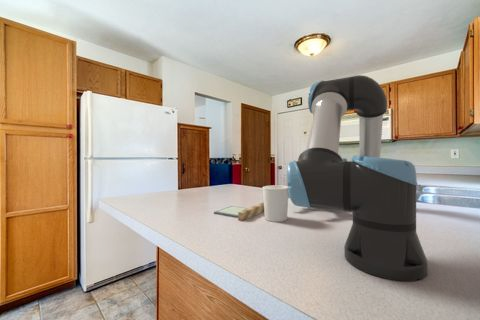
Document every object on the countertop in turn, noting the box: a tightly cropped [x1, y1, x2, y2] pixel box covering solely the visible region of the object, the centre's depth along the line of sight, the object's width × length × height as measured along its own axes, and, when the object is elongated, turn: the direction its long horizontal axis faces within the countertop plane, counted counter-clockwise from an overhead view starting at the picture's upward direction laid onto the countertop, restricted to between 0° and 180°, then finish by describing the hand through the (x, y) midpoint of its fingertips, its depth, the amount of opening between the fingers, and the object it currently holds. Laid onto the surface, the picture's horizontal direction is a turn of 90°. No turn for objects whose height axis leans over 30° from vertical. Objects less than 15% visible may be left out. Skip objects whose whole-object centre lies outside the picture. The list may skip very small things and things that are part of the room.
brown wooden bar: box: [237, 201, 264, 222], centre depth 89 cm, size 20×2×3 cm, turn 146°
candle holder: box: [262, 184, 289, 223], centre depth 83 cm, size 10×10×12 cm
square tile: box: [213, 205, 249, 219], centre depth 93 cm, size 13×13×1 cm
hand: (292, 198), depth 88 cm, fingers open, 13 cm apart
